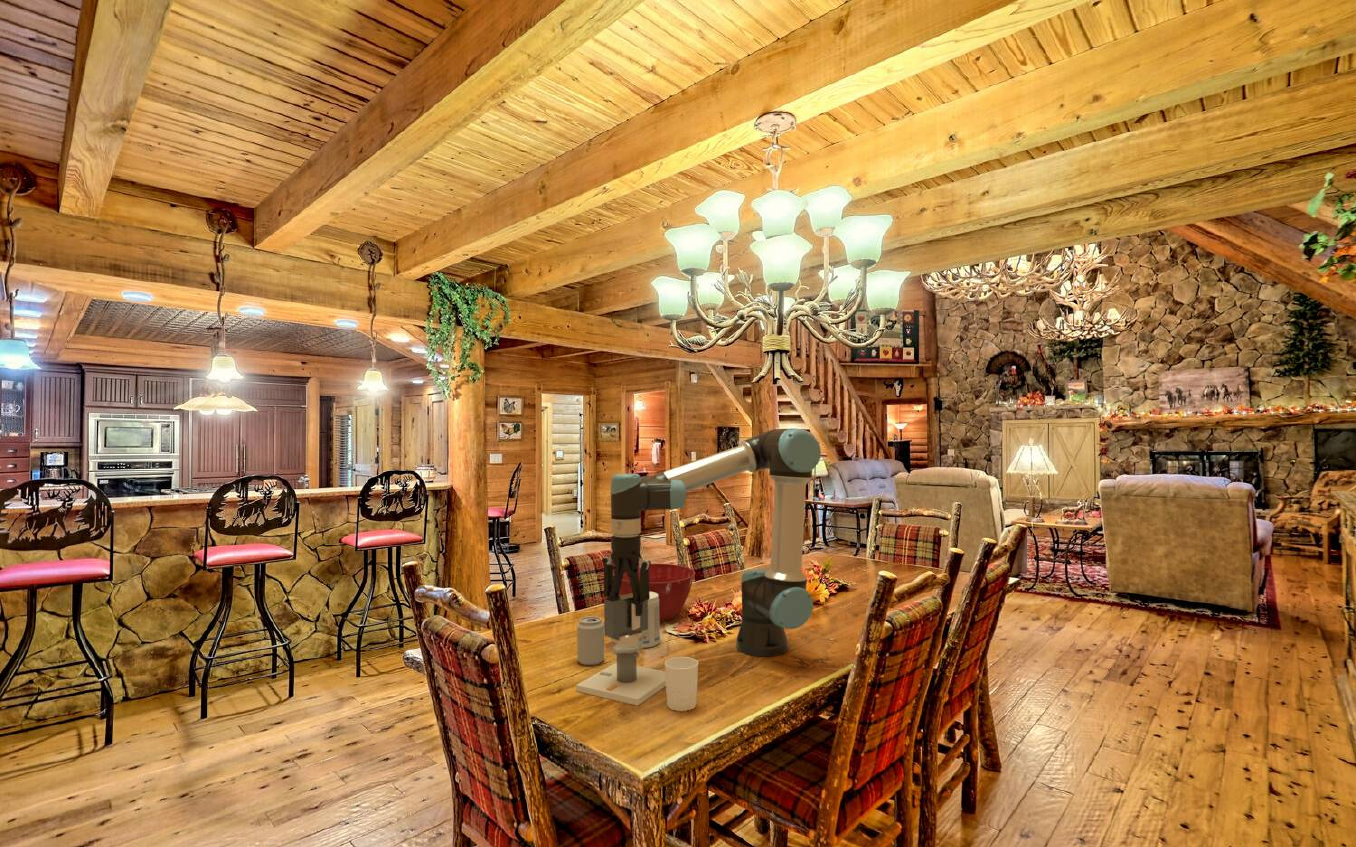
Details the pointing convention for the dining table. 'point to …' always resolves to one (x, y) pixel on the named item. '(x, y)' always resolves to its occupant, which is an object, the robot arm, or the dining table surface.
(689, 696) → the white cup
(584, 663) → the can
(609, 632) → the coupling
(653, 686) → the post base
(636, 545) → the robot arm
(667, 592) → the mixing bowl
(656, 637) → the supplement tub
